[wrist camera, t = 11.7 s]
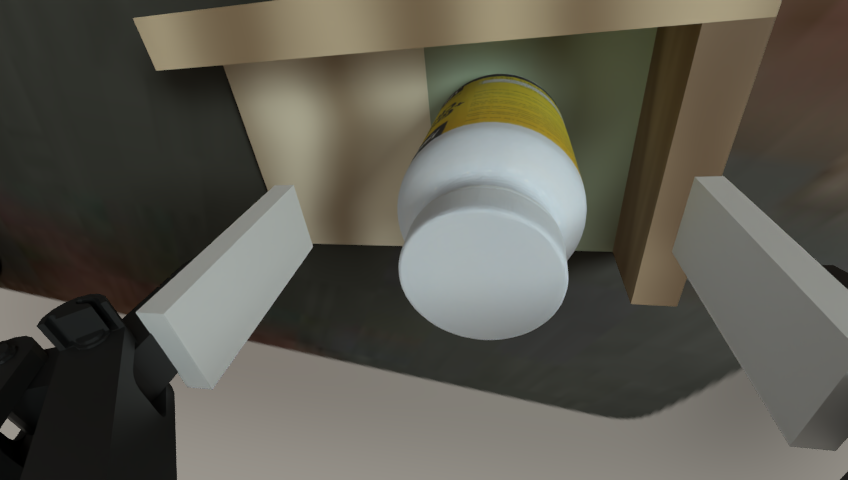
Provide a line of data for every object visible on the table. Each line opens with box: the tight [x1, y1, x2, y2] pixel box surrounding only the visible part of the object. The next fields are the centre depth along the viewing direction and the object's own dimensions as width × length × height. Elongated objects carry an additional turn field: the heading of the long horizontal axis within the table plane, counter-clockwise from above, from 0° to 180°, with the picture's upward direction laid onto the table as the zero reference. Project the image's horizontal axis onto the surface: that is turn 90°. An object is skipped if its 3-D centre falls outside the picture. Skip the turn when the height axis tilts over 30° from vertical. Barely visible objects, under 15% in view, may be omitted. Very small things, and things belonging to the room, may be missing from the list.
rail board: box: [133, 0, 782, 306], centre depth 19 cm, size 23×14×5 cm, turn 96°
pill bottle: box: [397, 74, 587, 340], centre depth 15 cm, size 6×6×12 cm
